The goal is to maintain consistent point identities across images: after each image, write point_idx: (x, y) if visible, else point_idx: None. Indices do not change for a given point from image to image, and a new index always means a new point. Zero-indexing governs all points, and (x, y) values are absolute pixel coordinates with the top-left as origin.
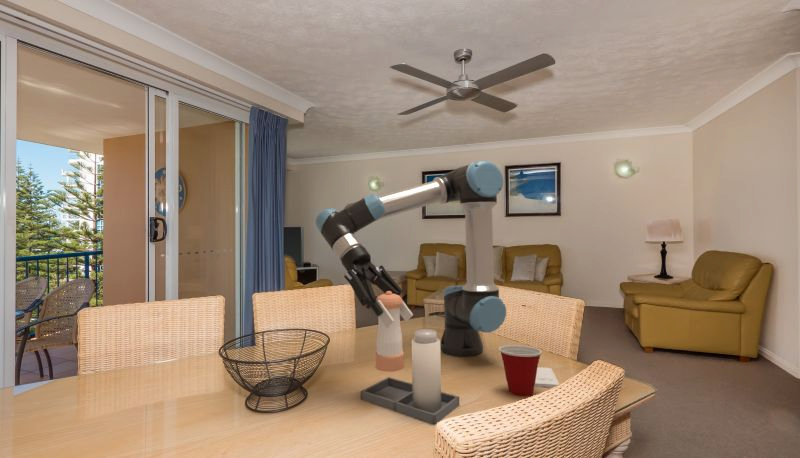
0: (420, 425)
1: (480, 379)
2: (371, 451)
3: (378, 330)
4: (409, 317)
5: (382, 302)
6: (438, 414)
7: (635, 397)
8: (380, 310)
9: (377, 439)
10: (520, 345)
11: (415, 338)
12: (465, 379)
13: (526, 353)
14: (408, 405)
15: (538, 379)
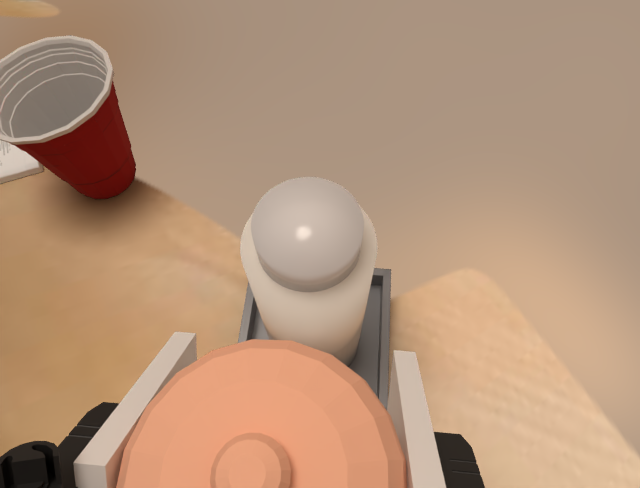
0: (390, 324)
1: (23, 296)
2: (565, 367)
3: None
4: (195, 357)
5: (402, 463)
6: None
7: (47, 6)
8: (454, 446)
9: (516, 386)
10: None
11: (349, 268)
12: (35, 339)
13: (5, 100)
14: (380, 360)
15: (5, 151)
